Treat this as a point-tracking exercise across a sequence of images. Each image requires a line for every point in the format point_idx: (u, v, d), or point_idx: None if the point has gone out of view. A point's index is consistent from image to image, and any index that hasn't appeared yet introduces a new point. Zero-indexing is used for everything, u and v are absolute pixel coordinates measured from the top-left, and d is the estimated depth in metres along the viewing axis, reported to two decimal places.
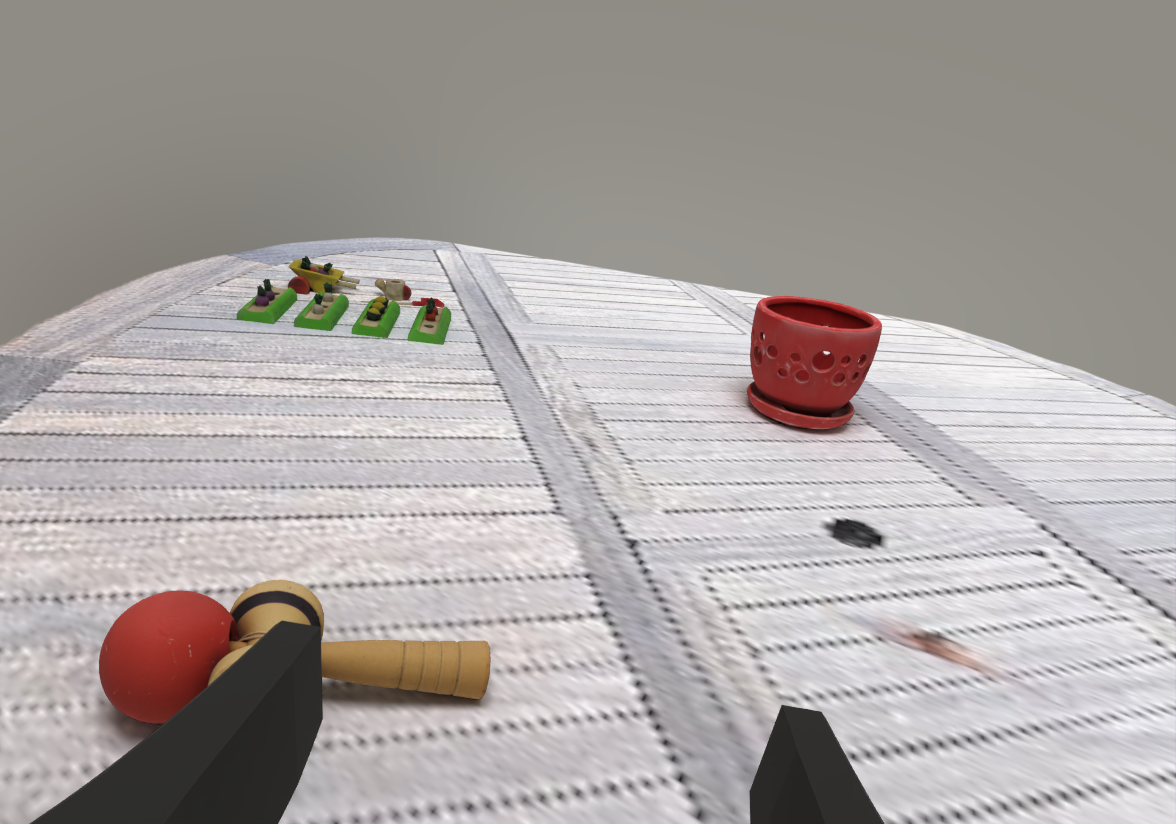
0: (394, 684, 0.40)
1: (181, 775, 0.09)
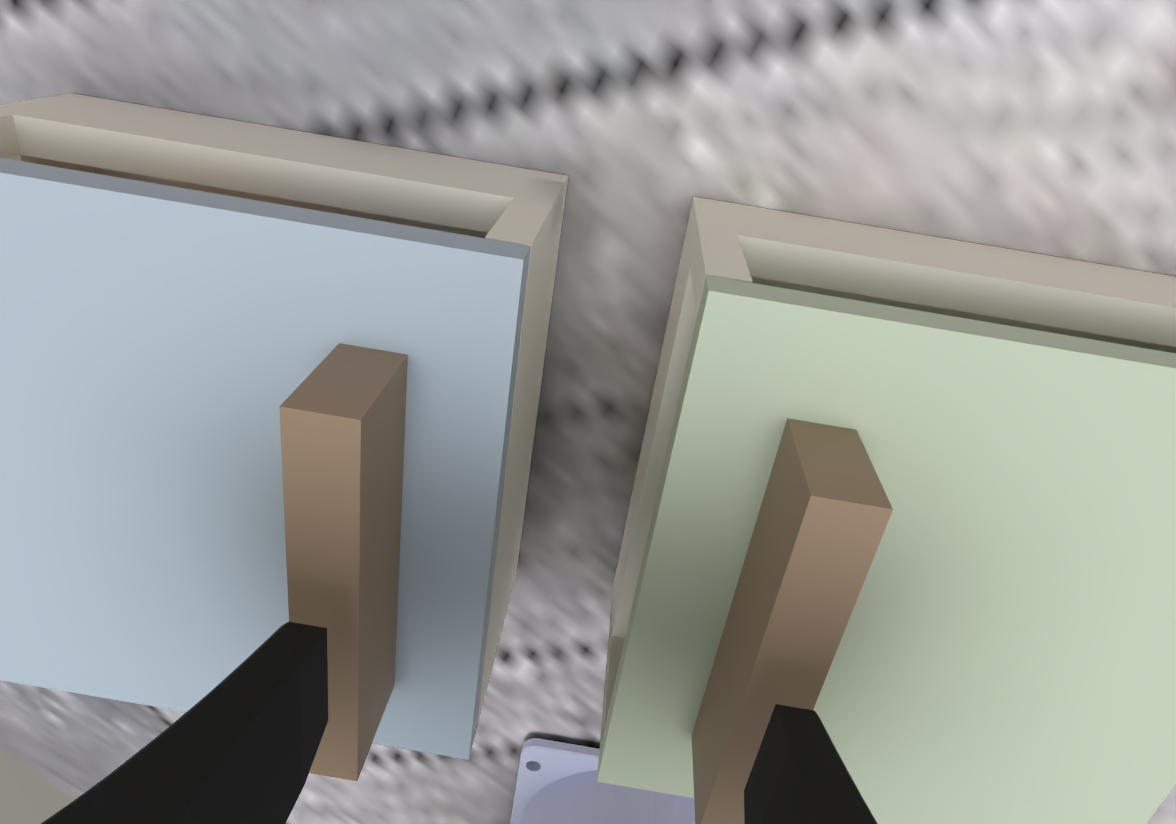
0: None
1: (189, 776, 0.09)
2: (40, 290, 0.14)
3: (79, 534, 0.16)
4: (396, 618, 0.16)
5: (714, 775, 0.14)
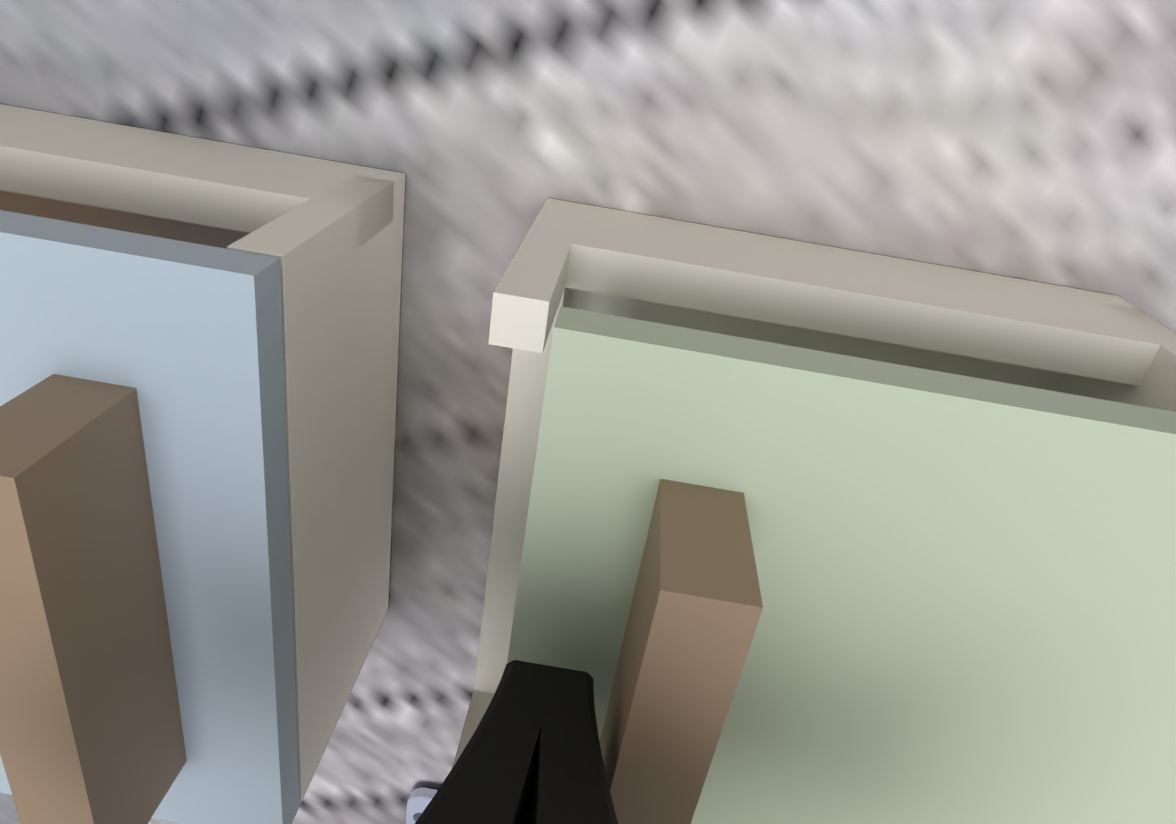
0: None
1: None
2: None
3: None
4: (174, 688, 0.14)
5: None
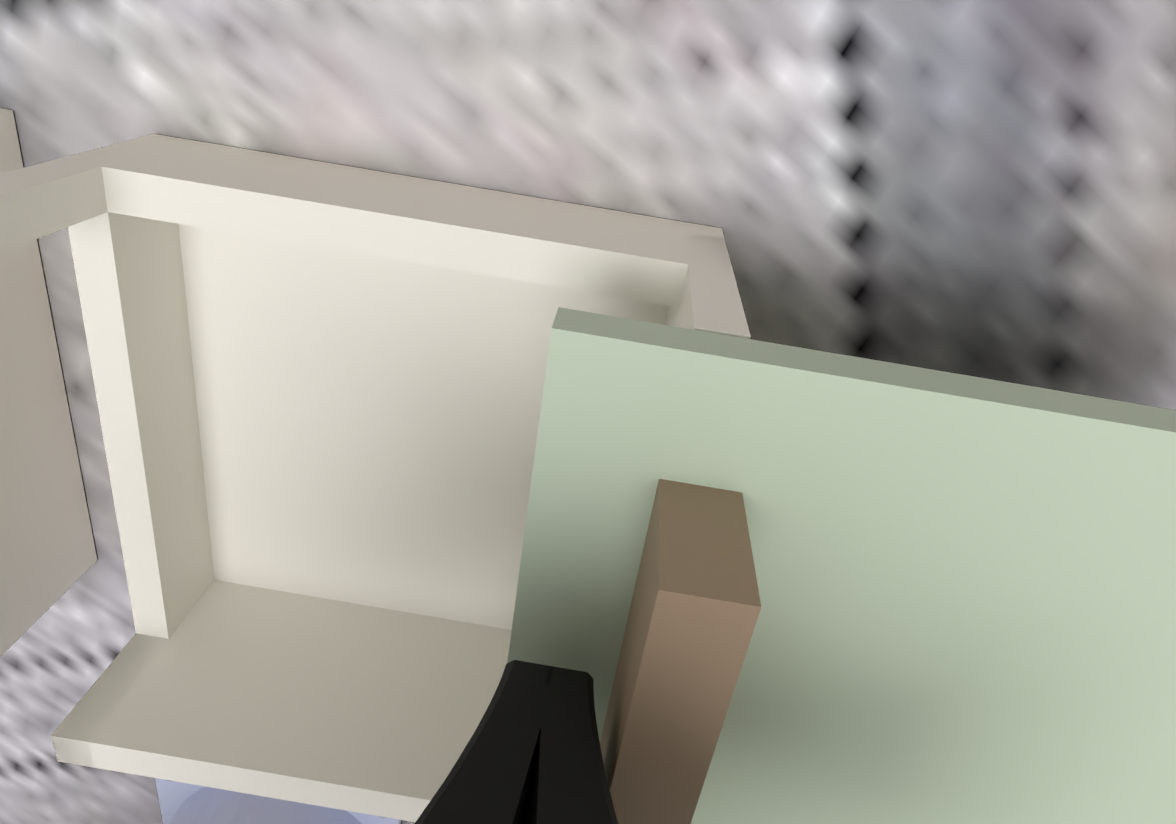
0: None
1: None
2: None
3: None
4: None
5: None
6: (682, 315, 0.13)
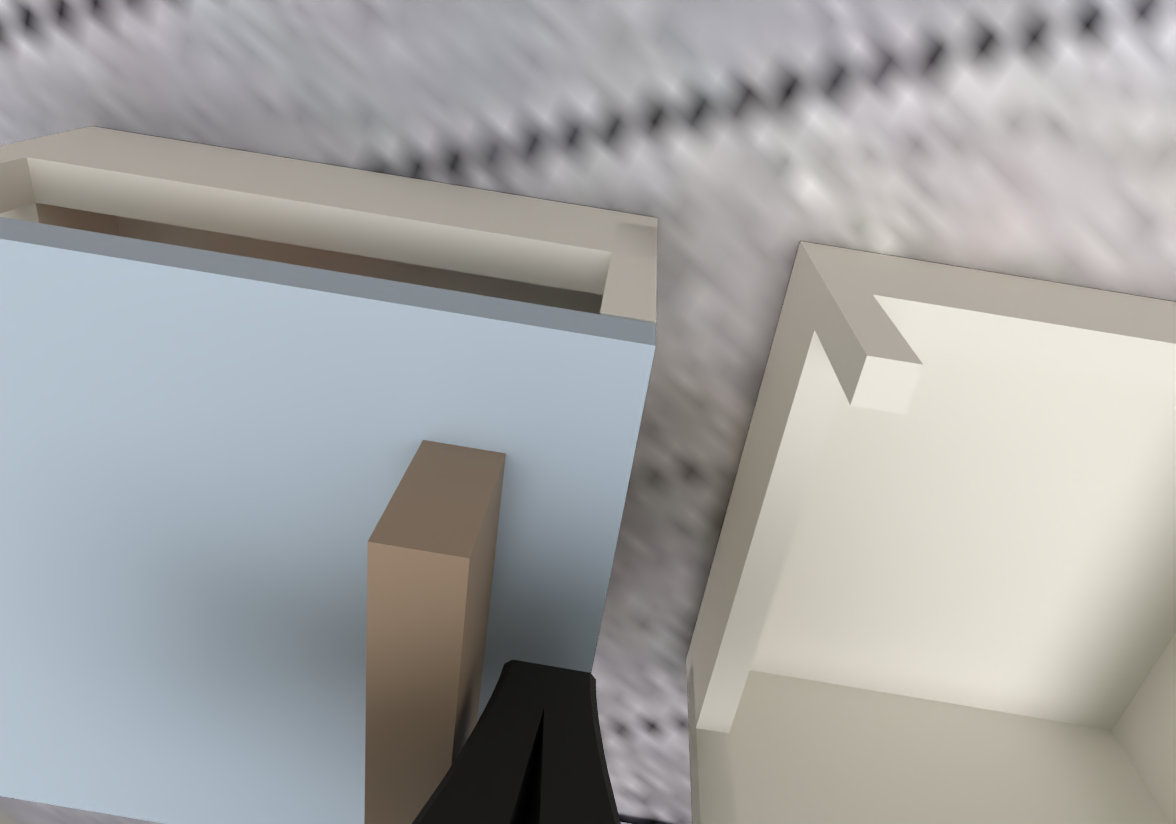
0: None
1: None
2: (63, 377, 0.11)
3: (105, 646, 0.14)
4: None
5: None
6: None
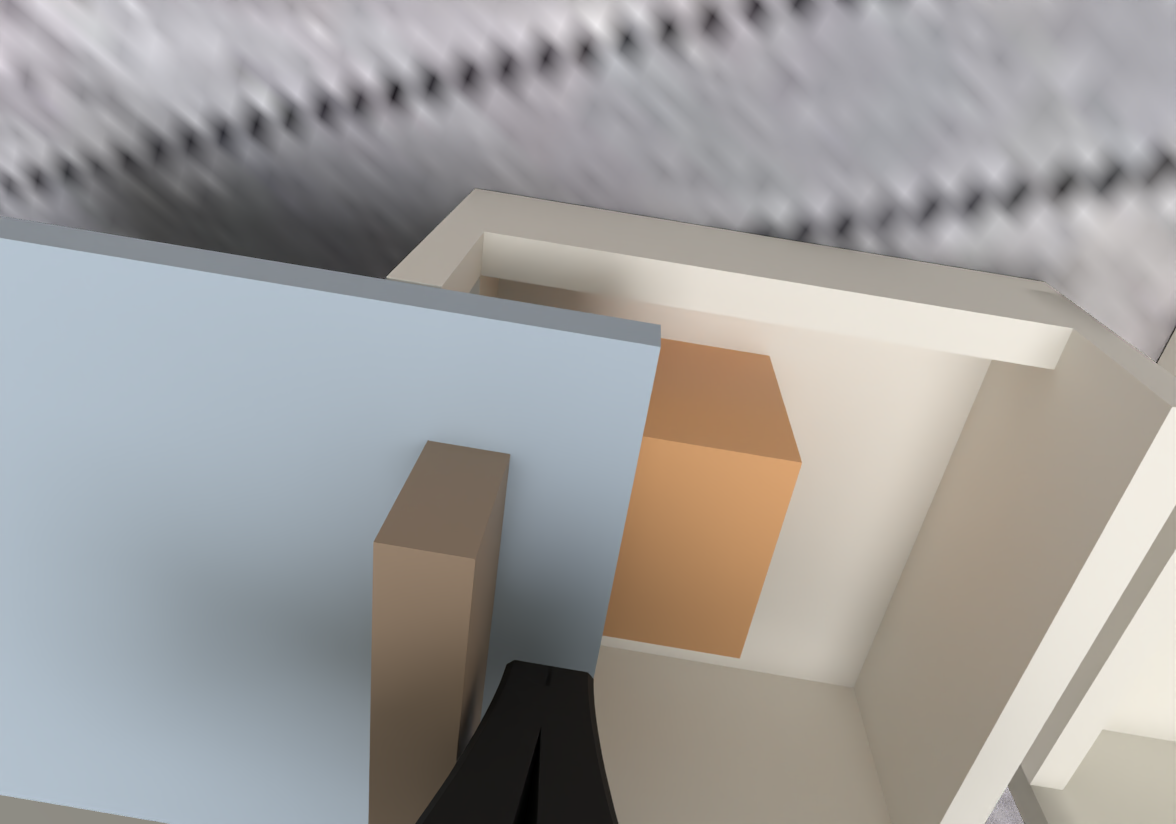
0: None
1: None
2: (68, 377, 0.11)
3: (109, 646, 0.14)
4: None
5: None
6: None
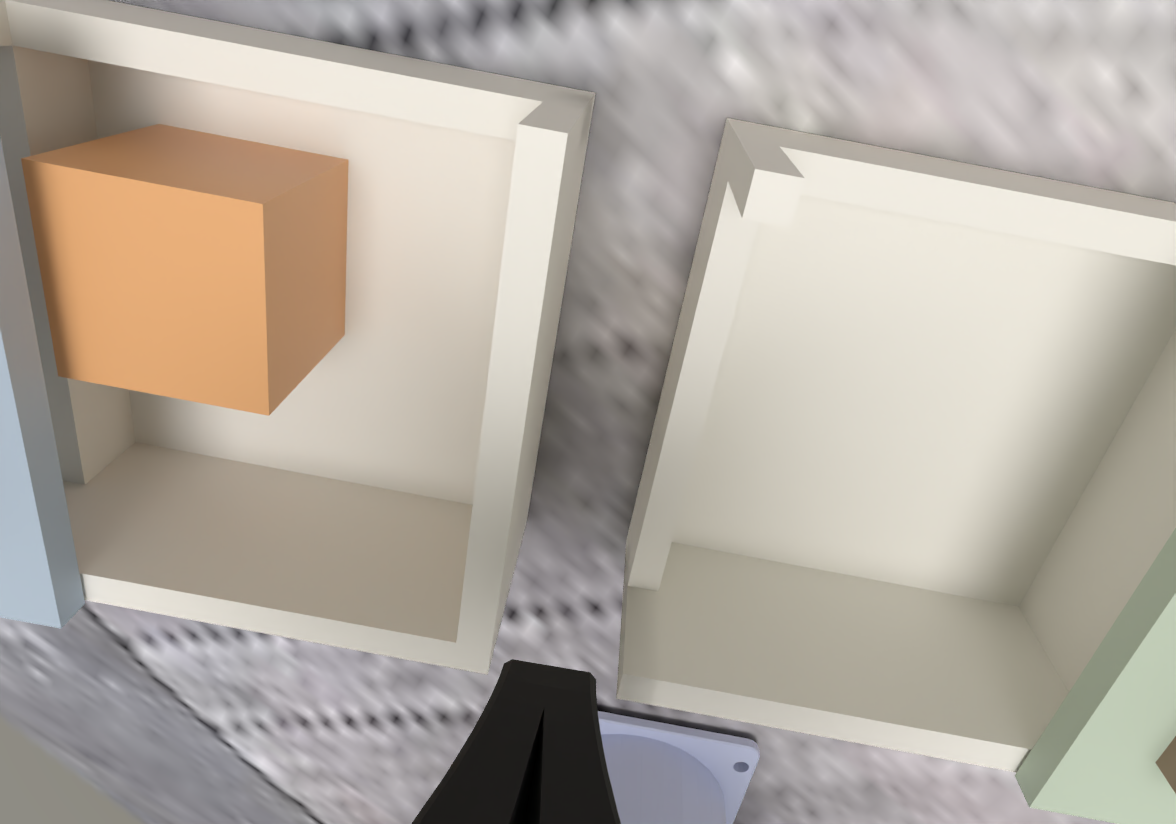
0: None
1: None
2: None
3: None
4: None
5: None
6: None
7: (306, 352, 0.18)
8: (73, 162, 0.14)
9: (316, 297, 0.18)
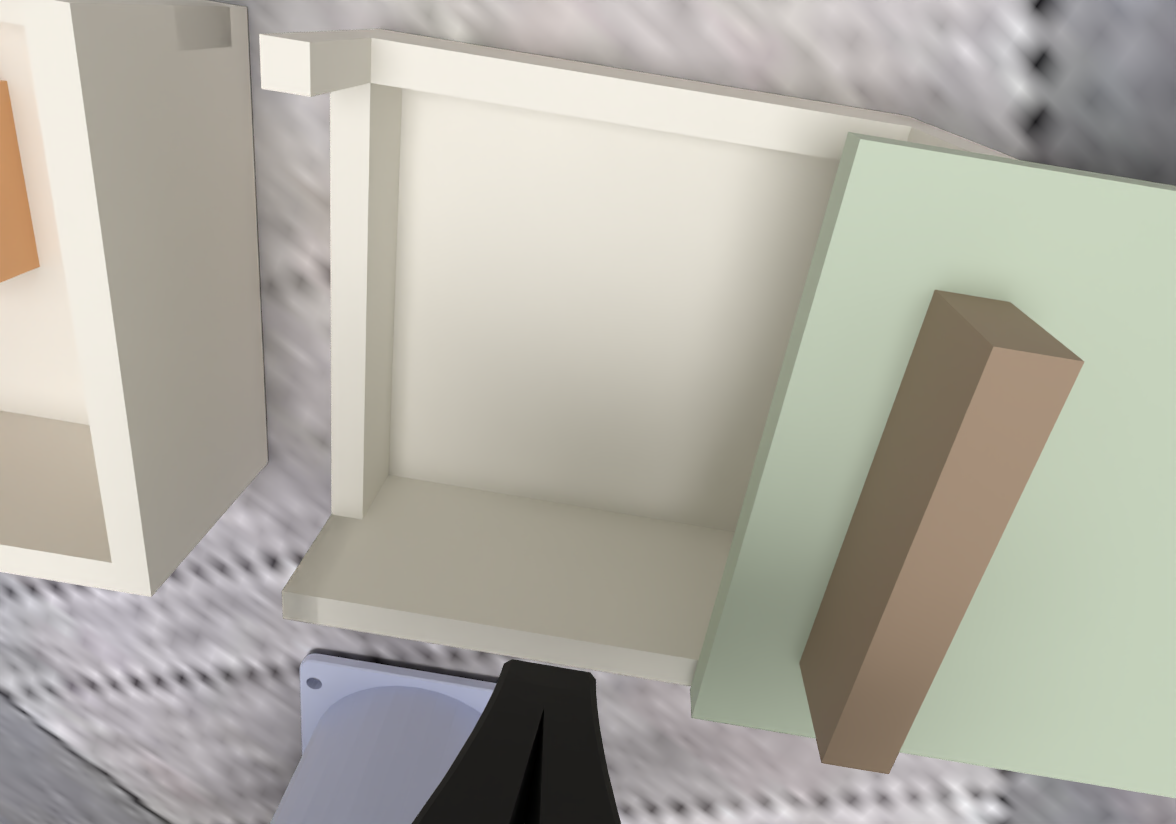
0: None
1: None
2: None
3: None
4: None
5: (847, 689, 0.13)
6: None
7: None
8: None
9: None
